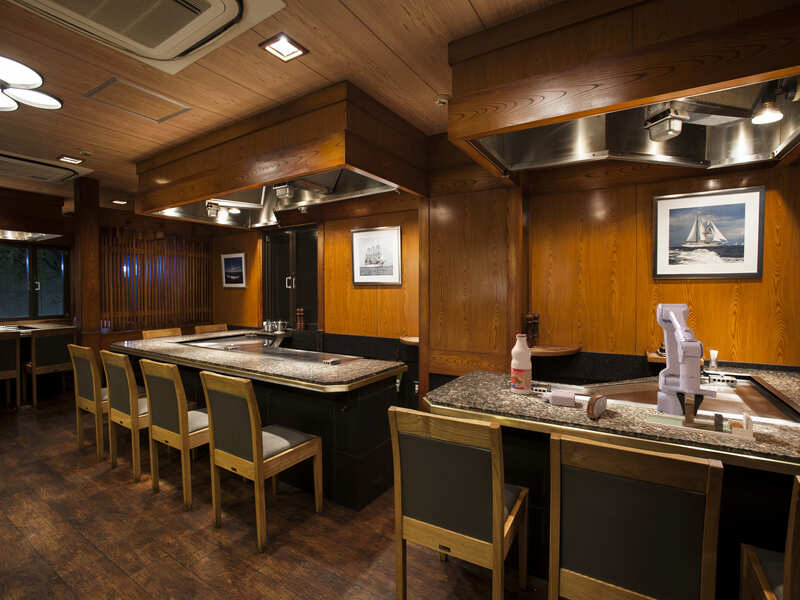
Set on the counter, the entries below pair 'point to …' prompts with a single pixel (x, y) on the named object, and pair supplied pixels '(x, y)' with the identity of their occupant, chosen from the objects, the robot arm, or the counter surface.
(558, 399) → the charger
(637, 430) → the counter surface
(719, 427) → the striker
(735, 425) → the ball
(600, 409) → the tin
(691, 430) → the pitch
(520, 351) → the fruit juice
